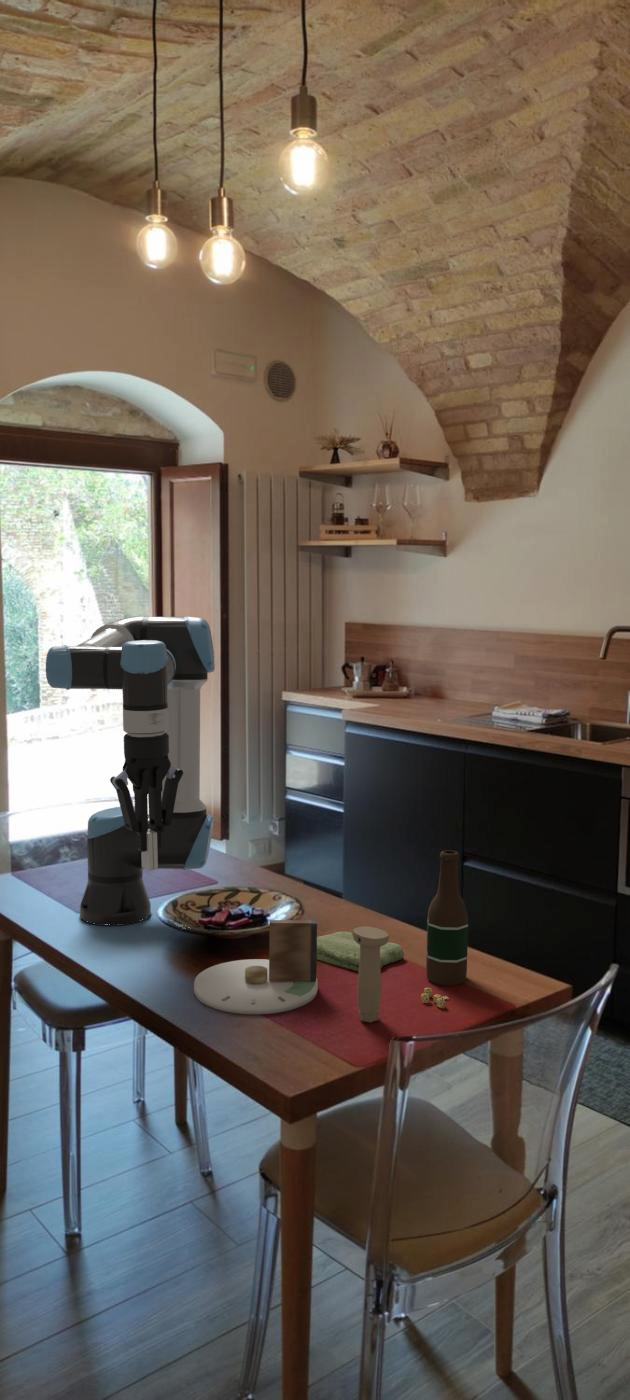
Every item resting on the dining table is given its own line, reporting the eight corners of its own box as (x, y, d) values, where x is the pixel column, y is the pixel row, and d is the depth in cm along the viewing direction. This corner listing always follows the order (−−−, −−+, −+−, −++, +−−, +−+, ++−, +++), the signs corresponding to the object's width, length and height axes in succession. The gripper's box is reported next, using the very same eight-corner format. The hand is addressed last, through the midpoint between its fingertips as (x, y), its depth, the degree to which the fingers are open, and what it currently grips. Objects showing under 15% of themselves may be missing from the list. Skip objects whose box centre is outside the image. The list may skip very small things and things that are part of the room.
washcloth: (338, 939, 217) (338, 924, 216) (407, 960, 205) (408, 944, 205) (295, 955, 207) (295, 939, 206) (366, 979, 195) (366, 962, 195)
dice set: (443, 1013, 181) (443, 1002, 181) (415, 1007, 183) (415, 996, 183) (453, 1002, 185) (453, 992, 185) (425, 997, 188) (426, 986, 187)
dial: (218, 961, 202) (219, 953, 202) (330, 974, 196) (330, 965, 196) (175, 1005, 181) (175, 996, 180) (298, 1021, 175) (298, 1011, 175)
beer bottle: (417, 973, 197) (421, 848, 194) (454, 969, 200) (458, 845, 197) (436, 989, 190) (440, 858, 187) (474, 983, 193) (479, 855, 190)
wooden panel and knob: (244, 983, 186) (245, 925, 185) (245, 975, 190) (245, 917, 189) (316, 983, 187) (317, 925, 185) (315, 975, 191) (316, 918, 189)
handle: (367, 1009, 180) (369, 924, 178) (392, 1022, 175) (394, 935, 173) (345, 1016, 177) (346, 930, 176) (370, 1029, 172) (372, 940, 170)
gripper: (121, 740, 170) (125, 881, 174) (191, 731, 178) (194, 866, 182) (100, 734, 176) (104, 870, 180) (169, 725, 184) (172, 856, 188)
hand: (149, 868), depth 181 cm, fingers closed
